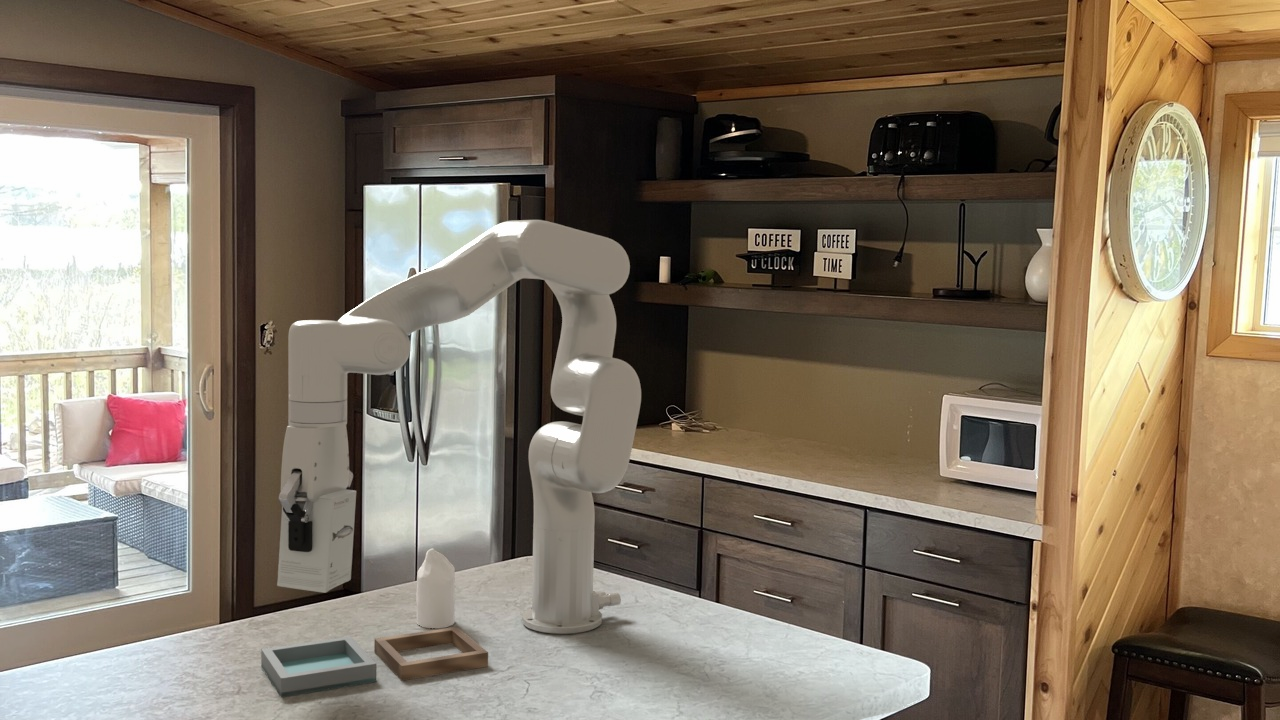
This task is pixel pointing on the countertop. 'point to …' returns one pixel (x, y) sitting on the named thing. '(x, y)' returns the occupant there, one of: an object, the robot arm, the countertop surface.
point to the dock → (317, 666)
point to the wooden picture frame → (405, 670)
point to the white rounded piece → (435, 591)
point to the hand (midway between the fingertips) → (317, 542)
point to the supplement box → (321, 545)
